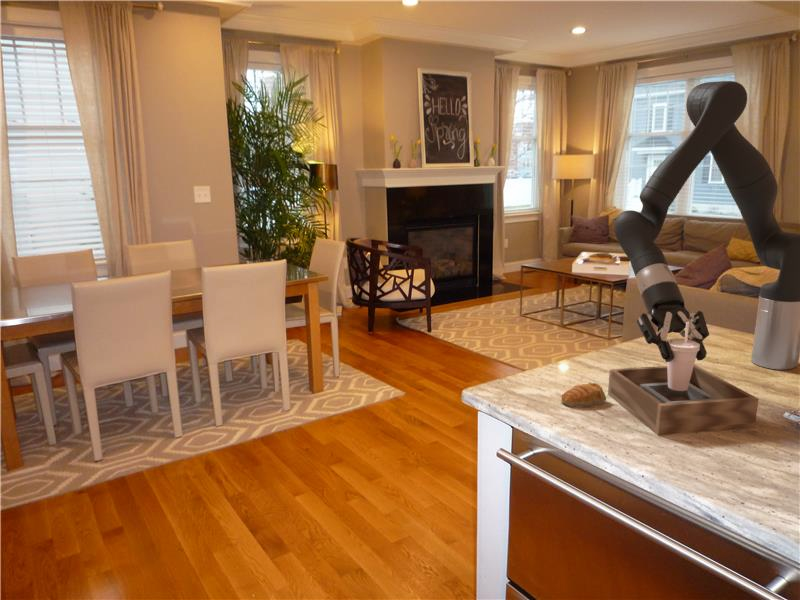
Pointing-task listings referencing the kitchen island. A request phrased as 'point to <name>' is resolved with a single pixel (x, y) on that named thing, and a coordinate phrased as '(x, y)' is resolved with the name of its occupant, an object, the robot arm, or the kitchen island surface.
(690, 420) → the crate
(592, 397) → the pastry
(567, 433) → the kitchen island surface
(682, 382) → the smoothie
